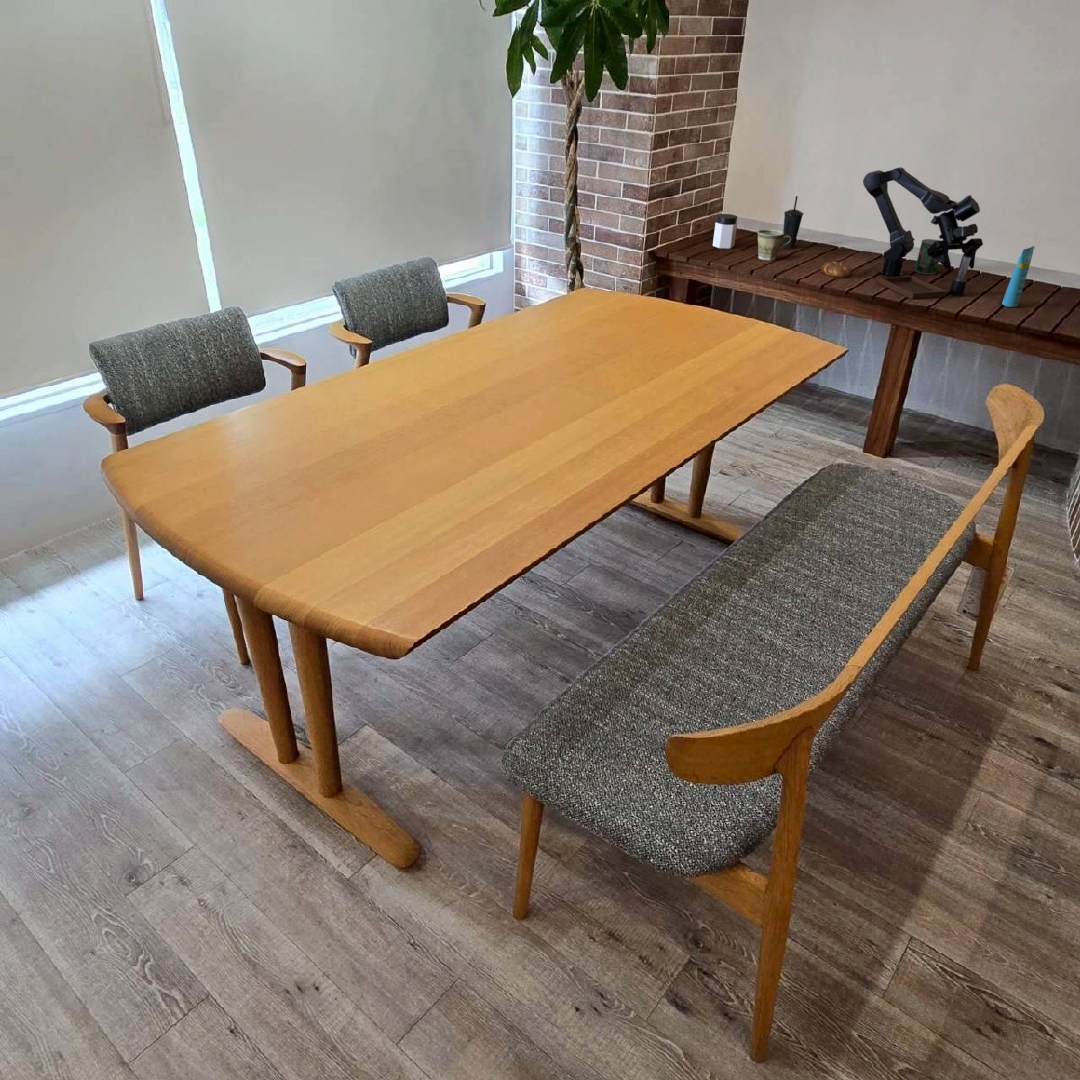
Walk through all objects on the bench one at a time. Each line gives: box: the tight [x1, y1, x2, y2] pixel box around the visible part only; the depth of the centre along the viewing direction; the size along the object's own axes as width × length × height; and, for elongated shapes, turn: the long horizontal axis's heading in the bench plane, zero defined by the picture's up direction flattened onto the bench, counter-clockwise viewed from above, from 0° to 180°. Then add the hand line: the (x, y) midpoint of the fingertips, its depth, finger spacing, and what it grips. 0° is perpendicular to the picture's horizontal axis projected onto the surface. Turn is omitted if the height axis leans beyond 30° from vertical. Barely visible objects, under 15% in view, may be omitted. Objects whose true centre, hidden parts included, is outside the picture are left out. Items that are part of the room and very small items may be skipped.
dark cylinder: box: [949, 255, 971, 297], centre depth 290 cm, size 4×4×13 cm
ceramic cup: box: [757, 228, 791, 262], centre depth 328 cm, size 13×10×10 cm
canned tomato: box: [914, 238, 941, 275], centre depth 315 cm, size 8×8×11 cm
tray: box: [878, 275, 948, 300], centre depth 297 cm, size 20×14×2 cm
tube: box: [1001, 245, 1035, 308], centre depth 279 cm, size 7×5×19 cm, turn 134°
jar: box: [712, 213, 738, 250], centre depth 343 cm, size 9×8×12 cm
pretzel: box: [820, 261, 852, 279], centre depth 312 cm, size 12×11×4 cm
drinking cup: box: [781, 195, 805, 250], centre depth 341 cm, size 8×8×20 cm
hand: (961, 268), depth 290 cm, fingers open, 9 cm apart
